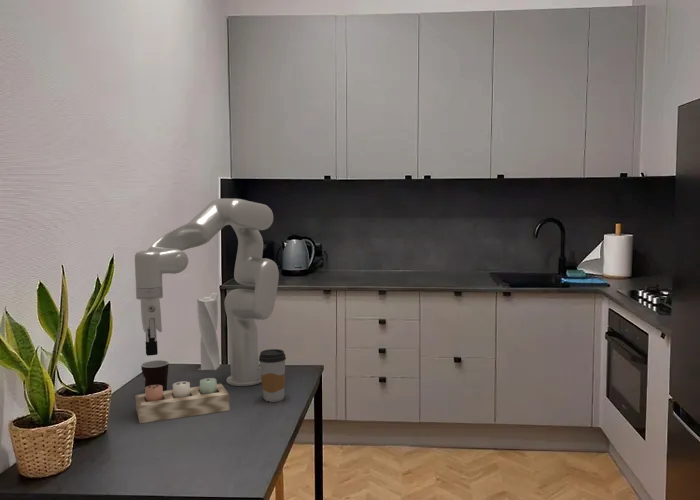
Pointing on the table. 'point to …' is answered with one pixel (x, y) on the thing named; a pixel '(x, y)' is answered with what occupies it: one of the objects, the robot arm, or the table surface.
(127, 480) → the table surface
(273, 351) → the coffee cup
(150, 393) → the pink rounded cylinder
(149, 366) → the coffee mug
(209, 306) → the skyscraper
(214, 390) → the button sage
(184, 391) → the button cream
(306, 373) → the table surface
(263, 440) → the table surface
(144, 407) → the beige long block
